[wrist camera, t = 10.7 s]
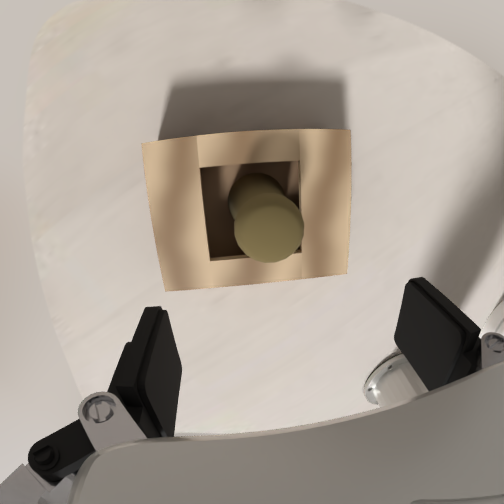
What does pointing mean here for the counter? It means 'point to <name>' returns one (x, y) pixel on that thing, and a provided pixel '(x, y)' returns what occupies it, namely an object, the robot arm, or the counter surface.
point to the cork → (264, 218)
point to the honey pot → (495, 321)
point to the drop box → (219, 217)
